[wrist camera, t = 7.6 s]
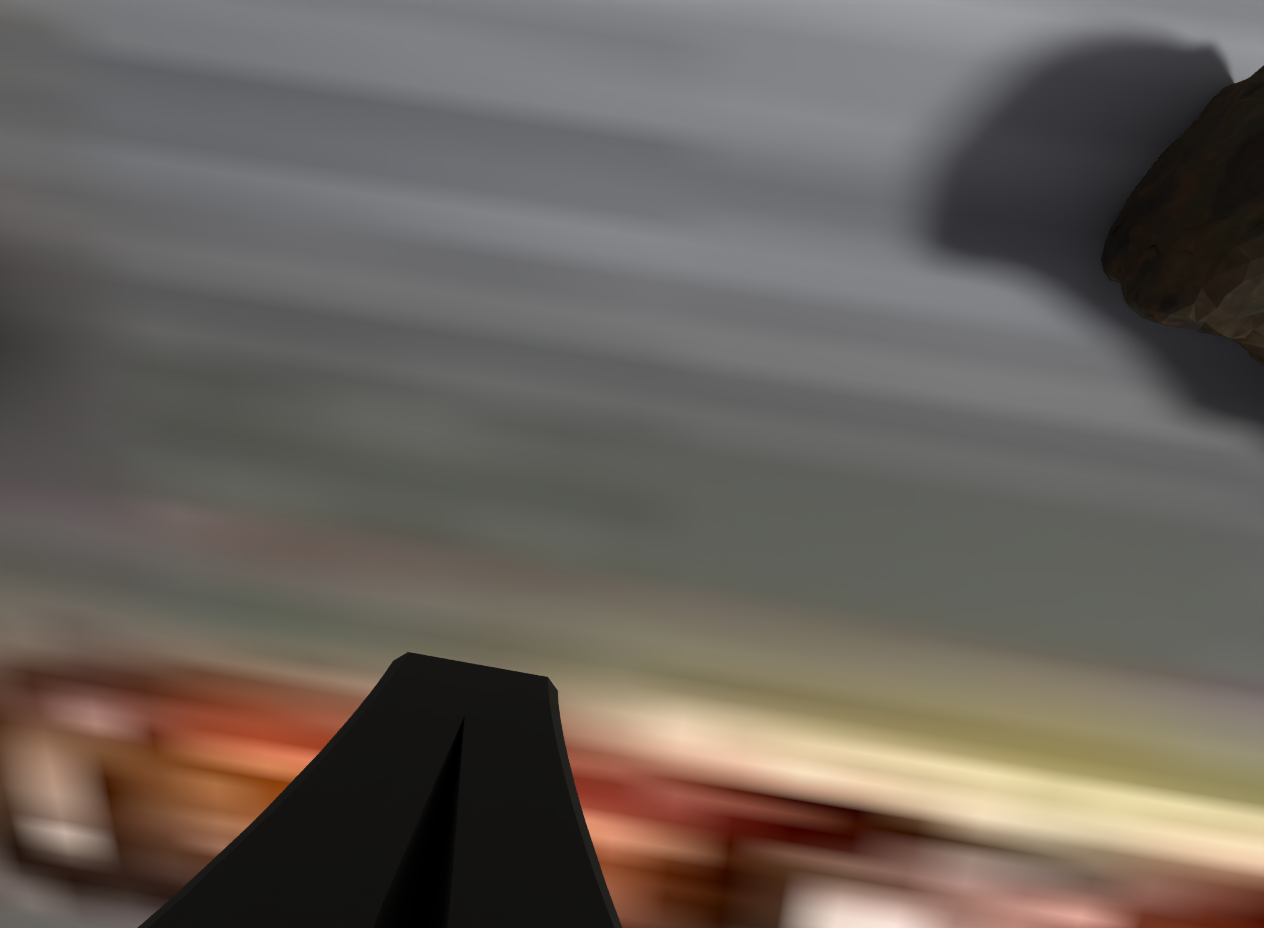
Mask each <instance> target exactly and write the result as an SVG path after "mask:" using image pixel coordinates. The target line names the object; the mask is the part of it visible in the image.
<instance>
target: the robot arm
mask: <svg viewBox="0 0 1264 928" xmlns="http://www.w3.org/2000/svg"><path fill="white" fill-rule="evenodd" d="M138 928H622V926H621V923H620V921H619V918H618V915H617V913H616V910H615V907H614V904H613V902H612V899H611V896H610V894H609V891H608V888H607V885H606V882H605V879H604V876H603V873H602V870H601V867H600V864H599V861H598V858H597V855H596V852H595V849H594V846H593V843H592V840H591V837H590V834H589V831H588V828H587V825H586V822H585V819H584V815H583V812H582V808H581V805H580V801H579V798H578V794H577V791H576V787H575V783H574V779H573V775H572V771H571V767H570V763H569V759H568V755H567V750H566V746H565V741H564V736H563V731H562V725H561V719H560V712H559V704H558V690H557V689H556V688H555V686H554V685H553V683H552V682H551V681H550V679H549V678H548V677H545V676H539V675H533V674H528V673H522V672H517V671H511V670H505V669H500V668H494V667H489V666H483V665H477V664H472V663H466V662H461V661H455V660H449V659H444V658H438V657H433V656H427V655H421V654H416V653H410V652H408V653H406V654H404V655H402V656H401V657H399V658H397V659H395V660H394V661H393V662H392V663H391V665H390V666H389V668H388V669H387V671H386V672H385V674H384V675H383V677H382V678H381V679H380V681H379V682H378V683H377V685H376V686H375V687H374V689H373V690H372V691H371V693H370V694H369V695H368V696H367V698H366V699H365V700H364V701H363V703H362V704H361V705H360V706H359V708H358V709H357V710H356V711H355V712H354V714H353V715H352V716H351V717H350V718H349V720H348V721H347V722H346V723H345V724H344V725H343V726H342V728H341V729H340V730H339V731H338V732H337V733H336V735H335V736H334V737H333V738H332V739H331V740H330V741H329V743H328V744H327V745H326V746H325V747H324V748H323V749H322V750H321V752H320V753H319V754H318V755H317V756H316V757H315V758H314V759H313V760H312V761H311V762H310V763H309V764H308V765H307V766H306V767H305V768H304V770H303V771H302V772H301V773H300V774H299V775H298V776H297V777H296V778H295V779H294V780H293V781H292V782H291V783H290V784H289V785H288V786H287V787H286V788H285V790H284V791H283V792H282V793H281V794H280V795H279V796H278V797H277V798H276V799H275V800H274V801H273V802H272V803H271V804H270V805H269V806H268V807H267V808H266V809H265V810H264V811H263V812H262V813H261V814H260V815H259V816H258V817H257V818H256V819H255V820H254V821H253V822H252V823H251V824H250V825H249V826H248V827H247V828H246V829H245V830H244V831H243V832H242V833H241V834H240V835H239V836H238V837H237V838H236V839H234V840H233V841H232V842H231V843H230V844H229V845H228V846H227V847H226V848H225V849H224V850H223V851H222V852H221V853H219V854H218V855H217V856H216V857H215V858H214V859H213V860H212V861H211V862H210V863H209V864H208V865H207V866H206V867H204V868H203V869H202V870H201V871H200V872H199V873H198V874H197V875H196V876H195V877H194V878H193V879H192V880H191V881H190V882H188V883H187V884H186V885H185V886H184V887H183V888H182V889H181V890H180V891H179V892H178V893H177V894H176V895H175V896H173V897H172V898H171V899H170V900H169V901H168V902H167V903H166V904H164V905H163V906H162V907H161V908H160V909H159V910H158V911H156V912H155V913H154V914H153V915H152V916H151V917H150V918H148V919H147V920H146V921H145V922H144V923H143V924H141V925H140V926H139V927H138Z"/></svg>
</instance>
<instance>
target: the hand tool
mask: <svg viewBox="0 0 1264 928" xmlns="http://www.w3.org/2000/svg"><path fill="white" fill-rule="evenodd" d="M1101 261H1102V266H1103V270H1104V272H1105V274H1106V275H1107V276H1108V278H1109V279H1110V280H1112V281H1115V282H1119V283H1120V284H1121V288H1122V292H1123V296H1124V300H1125V302H1126V303H1127V305H1128V306H1129V307H1130V308H1132V309H1133V310H1134V311H1135V312H1136V313H1137V314H1139V315H1140V316H1141V317H1142V318H1145V319H1148V320H1151V321H1154V322H1158V323H1161V324H1164V325H1168V326H1174V327H1181V328H1189V329H1195V330H1197V331H1199V332H1202V333H1209V334H1216V335H1222V336H1226V337H1228V338H1230V339H1233V340H1234V341H1236V342H1237V343H1238V344H1240V345H1241V346H1242V347H1244V348H1245V349H1246V350H1247V351H1248V352H1249V354H1250V355H1251V357H1252V358H1254V359H1255V360H1256V361H1258V362H1259V363H1261V364H1262V365H1263V366H1264V66H1263V67H1261V68H1260V69H1259V70H1258V71H1257V72H1255V73H1254V74H1253V75H1252V76H1251V77H1249V78H1248V79H1246V80H1243V81H1241V82H1238V83H1235V84H1233V85H1230V86H1227V87H1225V88H1223V90H1222V91H1221V92H1220V93H1219V94H1218V95H1217V96H1216V97H1214V98H1213V99H1212V100H1211V101H1210V103H1209V104H1208V105H1207V107H1206V108H1205V110H1204V111H1203V112H1202V114H1201V115H1200V116H1199V118H1198V119H1197V120H1196V121H1195V122H1194V123H1193V124H1192V125H1191V126H1190V128H1189V129H1188V130H1187V131H1186V132H1185V133H1184V134H1183V135H1182V136H1181V137H1180V138H1179V139H1177V140H1176V141H1175V142H1174V143H1173V144H1171V145H1170V146H1169V147H1168V148H1167V150H1166V151H1165V152H1164V153H1163V154H1162V155H1161V156H1160V157H1159V158H1158V159H1157V161H1156V162H1155V163H1154V165H1153V166H1152V167H1151V169H1150V170H1149V171H1148V173H1147V174H1146V175H1145V176H1144V178H1143V179H1142V180H1141V182H1140V183H1139V184H1138V186H1137V187H1136V189H1135V190H1134V191H1133V193H1132V194H1131V196H1130V197H1129V198H1128V200H1127V201H1126V203H1125V206H1124V208H1123V210H1122V212H1121V214H1120V216H1119V217H1118V219H1117V220H1116V222H1115V223H1114V225H1113V226H1112V228H1111V229H1110V231H1109V234H1108V237H1107V240H1106V243H1105V246H1104V250H1103V254H1102V258H1101Z"/></svg>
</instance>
